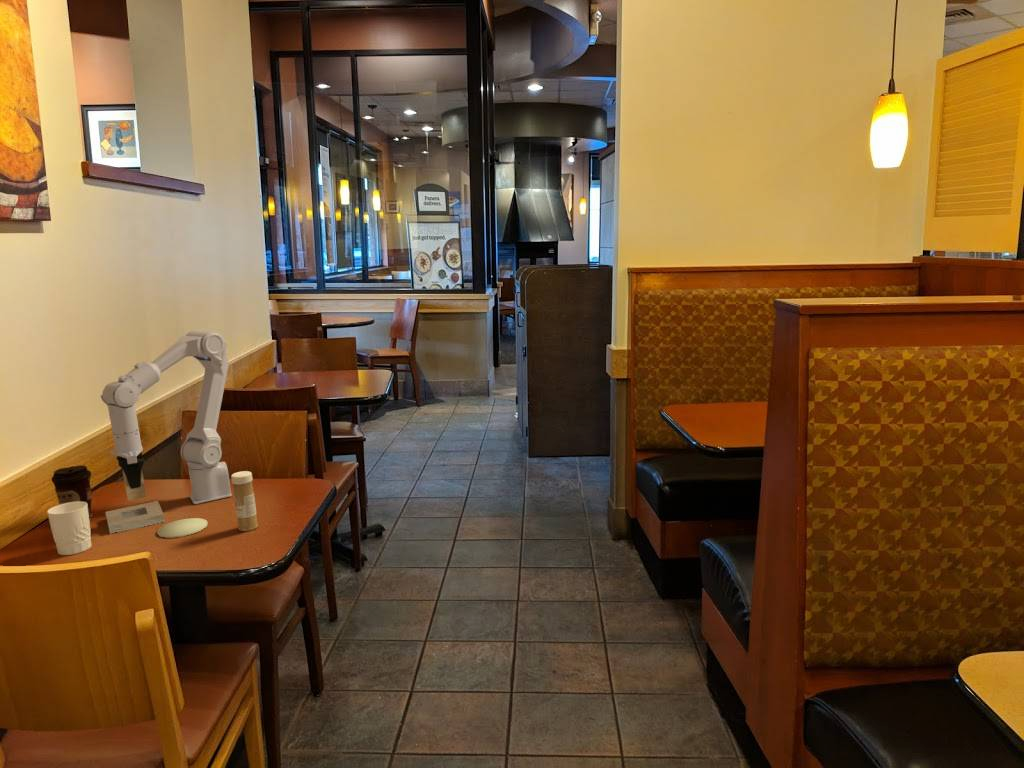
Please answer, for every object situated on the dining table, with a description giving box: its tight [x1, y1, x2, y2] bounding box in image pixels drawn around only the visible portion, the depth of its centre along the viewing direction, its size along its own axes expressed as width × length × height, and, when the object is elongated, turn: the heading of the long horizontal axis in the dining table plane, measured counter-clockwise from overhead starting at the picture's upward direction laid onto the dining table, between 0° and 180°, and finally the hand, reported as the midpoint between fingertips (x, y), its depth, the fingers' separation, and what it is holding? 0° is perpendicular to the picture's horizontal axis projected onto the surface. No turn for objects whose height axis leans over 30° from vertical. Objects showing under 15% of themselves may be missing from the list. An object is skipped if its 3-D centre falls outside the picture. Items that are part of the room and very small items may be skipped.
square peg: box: [121, 469, 147, 502], centre depth 185 cm, size 4×4×8 cm
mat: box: [156, 517, 209, 539], centre depth 181 cm, size 11×11×1 cm
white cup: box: [46, 501, 92, 556], centre depth 171 cm, size 8×8×10 cm
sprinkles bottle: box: [230, 470, 259, 532], centre depth 177 cm, size 5×5×13 cm
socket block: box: [104, 500, 166, 535], centre depth 188 cm, size 12×12×2 cm
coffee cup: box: [51, 465, 93, 516], centre depth 191 cm, size 9×8×13 cm
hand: (134, 485), depth 185 cm, fingers closed on square peg, 4 cm apart
